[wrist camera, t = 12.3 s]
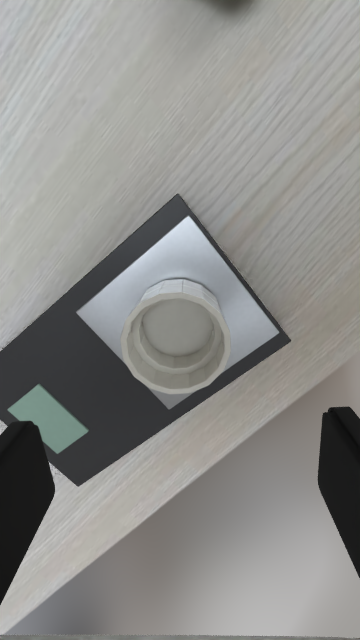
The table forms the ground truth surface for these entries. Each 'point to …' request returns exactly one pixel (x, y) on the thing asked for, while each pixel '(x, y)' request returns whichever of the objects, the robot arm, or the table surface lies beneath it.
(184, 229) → the pan
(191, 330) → the cup
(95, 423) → the scale
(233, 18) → the table surface
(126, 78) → the table surface
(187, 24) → the table surface
